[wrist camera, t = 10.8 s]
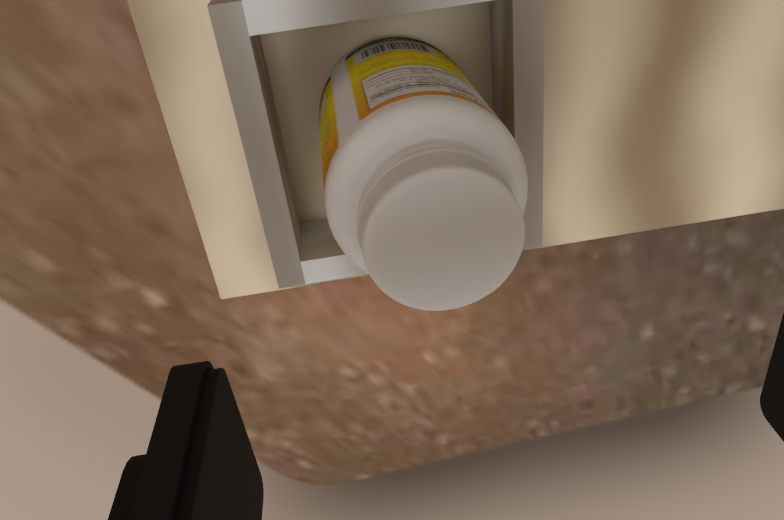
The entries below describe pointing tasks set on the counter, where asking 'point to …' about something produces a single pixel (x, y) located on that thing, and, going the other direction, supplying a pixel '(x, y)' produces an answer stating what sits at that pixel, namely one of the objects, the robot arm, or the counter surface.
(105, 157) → the counter surface
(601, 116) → the socket base
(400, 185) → the supplement bottle
